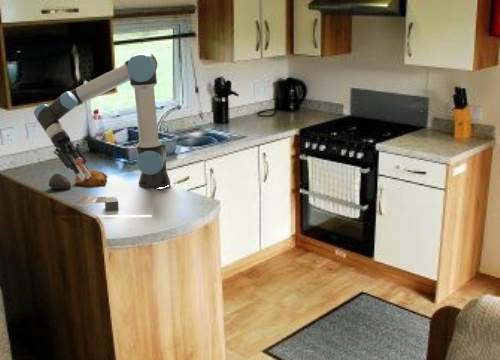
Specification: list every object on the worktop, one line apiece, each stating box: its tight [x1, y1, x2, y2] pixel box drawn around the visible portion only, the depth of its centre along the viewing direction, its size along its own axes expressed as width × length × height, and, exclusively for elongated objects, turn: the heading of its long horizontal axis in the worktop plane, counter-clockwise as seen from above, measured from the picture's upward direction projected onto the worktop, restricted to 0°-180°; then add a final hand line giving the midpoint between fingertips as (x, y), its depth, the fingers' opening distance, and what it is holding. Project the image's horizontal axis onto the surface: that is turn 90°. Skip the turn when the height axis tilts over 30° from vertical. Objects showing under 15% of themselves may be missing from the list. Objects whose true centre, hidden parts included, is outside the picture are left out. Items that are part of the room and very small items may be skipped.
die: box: [104, 197, 119, 212], centre depth 263 cm, size 5×5×5 cm
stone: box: [48, 173, 72, 190], centre depth 293 cm, size 10×8×10 cm
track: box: [76, 196, 117, 204], centre depth 275 cm, size 16×8×1 cm, turn 94°
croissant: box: [74, 169, 108, 188], centre depth 301 cm, size 14×16×8 cm
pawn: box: [74, 157, 84, 183], centre depth 271 cm, size 4×4×11 cm
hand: (86, 177), depth 270 cm, fingers closed on pawn, 2 cm apart
